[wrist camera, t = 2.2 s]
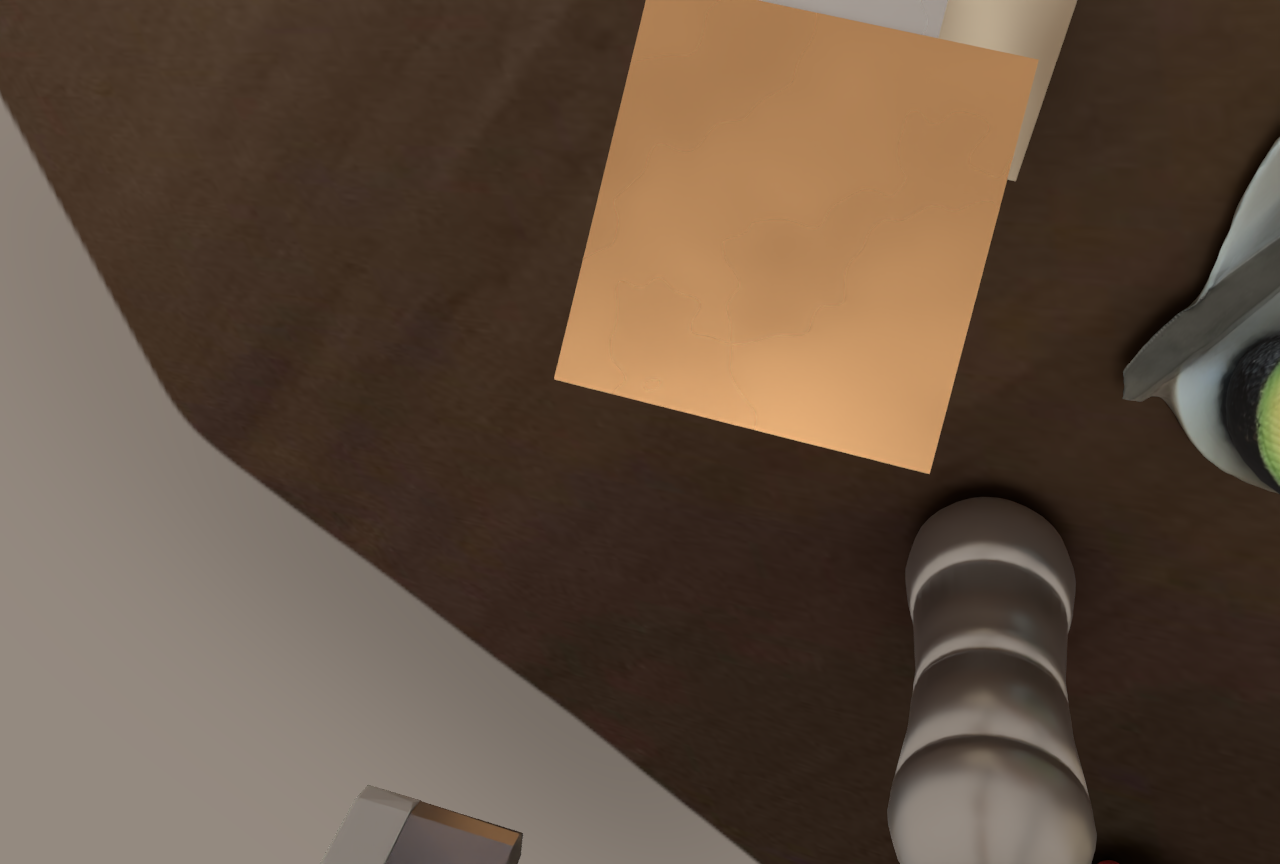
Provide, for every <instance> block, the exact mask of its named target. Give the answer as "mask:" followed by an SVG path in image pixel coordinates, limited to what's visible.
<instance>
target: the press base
mask: <svg viewBox="0 0 1280 864" xmlns="http://www.w3.org/2000/svg"><path fill="white" fill-rule="evenodd" d="M1076 3H1077V0H948V2H947V6H946V10H945V14H944V18H943V22H942V26H941V30H940V33H939V37H938V38H939V39H944V40H948V41H953V42H958V43H963V44H967V45H972V46H977V47H981V48H986V49H991V50H996V51H1000V52H1005V53H1010V54H1015V55H1019V56H1024V57H1029V58H1033V59H1038V60H1039V61H1038V65H1037V69H1036V72H1035V76H1034V80H1033V84H1032V88H1031V91H1030V95H1029V99H1028V103H1027V106H1026V110H1025V114H1024V118H1023V122H1022V125H1021V129H1020V133H1019V137H1018V141H1017V144H1016V148H1015V152H1014V156H1013V160H1012V163H1011V167H1010V171H1009V175H1008V180H1012V181H1016V179H1017V176H1018V173H1019V170H1020V167H1021V164H1022V161H1023V158H1024V155H1025V152H1026V149H1027V146H1028V144H1029V141H1030V138H1031V135H1032V132H1033V129H1034V126H1035V123H1036V120H1037V117H1038V114H1039V111H1040V108H1041V105H1042V102H1043V100H1044V97H1045V94H1046V91H1047V88H1048V85H1049V82H1050V79H1051V76H1052V73H1053V70H1054V67H1055V64H1056V61H1057V59H1058V56H1059V53H1060V50H1061V47H1062V44H1063V41H1064V38H1065V35H1066V32H1067V29H1068V26H1069V23H1070V20H1071V17H1072V15H1073V12H1074V9H1075V6H1076Z"/></svg>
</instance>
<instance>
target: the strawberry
mask: <svg viewBox="0 0 1280 864" xmlns="http://www.w3.org/2000/svg"><path fill="white" fill-rule="evenodd" d="M1098 864H1119V863H1118V862H1115V861H1112V860H1105V861H1102V862H1100V863H1098Z"/></svg>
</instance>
